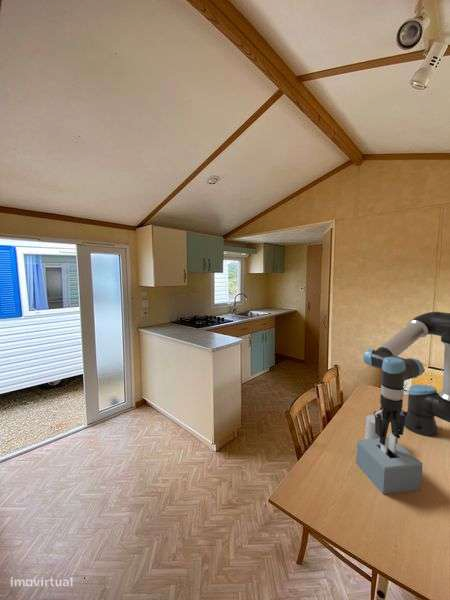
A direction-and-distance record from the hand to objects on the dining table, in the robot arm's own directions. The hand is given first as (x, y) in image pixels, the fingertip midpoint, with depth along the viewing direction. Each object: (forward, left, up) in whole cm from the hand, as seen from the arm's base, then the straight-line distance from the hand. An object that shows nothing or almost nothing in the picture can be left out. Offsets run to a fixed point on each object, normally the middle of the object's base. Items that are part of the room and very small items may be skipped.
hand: (387, 450), depth 105 cm
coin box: (0, 0, -11) cm, 11 cm away
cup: (-10, -20, -11) cm, 25 cm away
